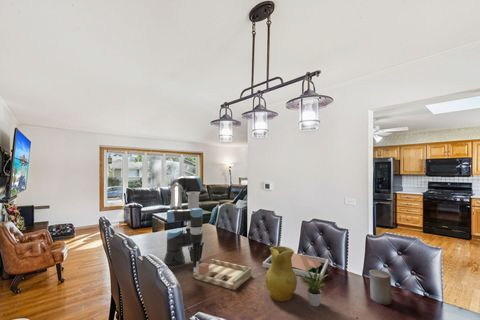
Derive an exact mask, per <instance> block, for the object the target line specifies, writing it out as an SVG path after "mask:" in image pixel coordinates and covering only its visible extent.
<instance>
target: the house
mask: <svg viewBox="0 0 480 320" xmlns="http://www.w3.org/2000/svg"><path fill="white" fill-rule="evenodd" d="M295 253H296V252H294V253H293V255H292V257H291V259H292V260H291V261H292V268H293V269H297V270H302V271H306V270H308V271H309V272H311V273H313V271H314V272H316V271H317V269H318V271H319V270H320V267H321V265H323V263H321V262H322V261H319V260H316V259H312V258H309V257H306V256H302V255H303V254H301V255H299V254H300V253H296V254H295ZM305 269H306V270H305Z"/></svg>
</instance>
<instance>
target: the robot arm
mask: <svg viewBox="0 0 480 320" xmlns="http://www.w3.org/2000/svg"><path fill="white" fill-rule="evenodd" d="M169 191H170V193H171V194H170V209H169V210H167V211H166V222H167V223H176V222H177V223H178V222H187V226H186V227H185V230H183V228H174V229H171V230H169V231H168V232H167V233H166V252H165V255H164V258H163V263H165V264H164V265H167V266H178V265H182V264H183V263H184V262H185V261H186V257H185V253H184V251H183V248H186V247H187V250H188V253H189V259H190V262H192V266H193V273H197V272H198V269H199V264H200V262H201V259H202V255H203V249H204V244H205V242H203V238H204V237H203V236H204V235H203V234H204V230H203V217H204V216H203V215H204V213H203V208H200V203H199V201H200V196H199V195H200V194H201V191H203V181H202V177H200V176H197V175H191V176H190V175H187V176H183V175H182V176H178V177H177V178H175V179H174V180H173V181H172V182H171V183H170V187H169ZM182 192H185V194H186V195H187V209H182V205H183V204H182V198H183V197H182Z"/></svg>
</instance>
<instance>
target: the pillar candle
mask: <svg viewBox="0 0 480 320" xmlns="http://www.w3.org/2000/svg"><path fill="white" fill-rule="evenodd" d="M391 280H392V279H391V274H390V273H389V272H387V271H384V270H380V269H371V270H369V290H370V293H369V294H370V299H371V300H372V301H373V302H374V303H377V304H380V305H391V304H392V301H393V300H392V283H391V282H392V281H391Z"/></svg>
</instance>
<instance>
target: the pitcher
mask: <svg viewBox="0 0 480 320" xmlns="http://www.w3.org/2000/svg"><path fill="white" fill-rule="evenodd" d="M269 250H270V253H271V254H270V255H272V260H271V261H270V264H271V266H270V268H268V270H267V272H266V273H265V285H266V286H265V287H266V289H267V291H269V293H268V295H269V297H271V298H272V299H274V300H275V301H277V302H278V301H279V302H286V301H290V300H291V299H292V298H293V294H294V293H295V291H296V289H297V285H298V278H297V275H296V274H295V272H294V271H293V269H294V267H292V261H291V260H292V259H291V257H292V255H293V253H295V249H293V248H291V247H288V246H282V245H276V246H275V245H274V246H270V247H269Z"/></svg>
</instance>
